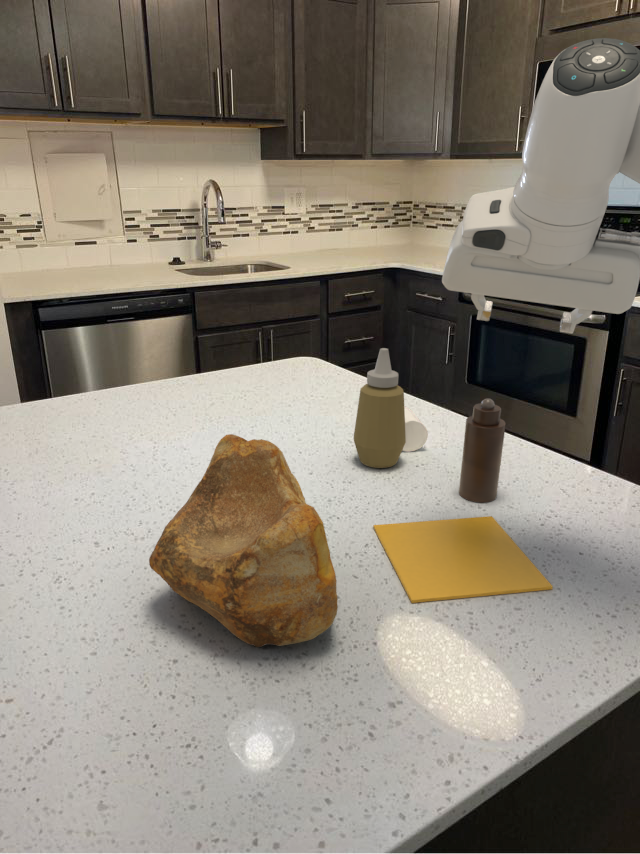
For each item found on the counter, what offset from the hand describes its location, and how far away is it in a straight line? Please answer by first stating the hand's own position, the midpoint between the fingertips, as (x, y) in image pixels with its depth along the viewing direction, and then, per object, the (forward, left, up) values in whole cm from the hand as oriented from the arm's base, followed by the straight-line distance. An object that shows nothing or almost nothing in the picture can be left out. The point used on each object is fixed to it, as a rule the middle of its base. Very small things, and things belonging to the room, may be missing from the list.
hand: (524, 322), depth 77 cm
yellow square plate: (+9, +8, -26) cm, 29 cm away
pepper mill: (0, -7, -26) cm, 27 cm away
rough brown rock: (+35, +12, -26) cm, 45 cm away
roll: (+5, -29, -26) cm, 40 cm away
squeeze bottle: (+11, -20, -26) cm, 35 cm away
